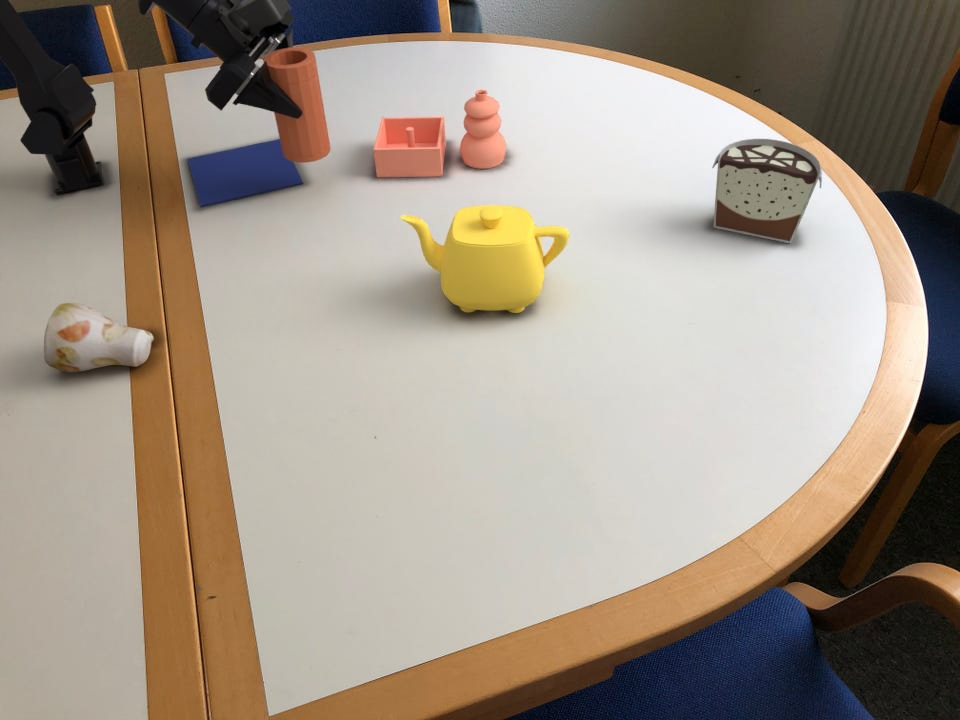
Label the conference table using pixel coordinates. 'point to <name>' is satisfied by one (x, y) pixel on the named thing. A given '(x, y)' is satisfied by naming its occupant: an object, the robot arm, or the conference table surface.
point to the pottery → (439, 141)
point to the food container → (764, 187)
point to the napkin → (242, 172)
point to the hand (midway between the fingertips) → (308, 104)
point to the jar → (300, 104)
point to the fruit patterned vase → (91, 340)
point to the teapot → (491, 257)
